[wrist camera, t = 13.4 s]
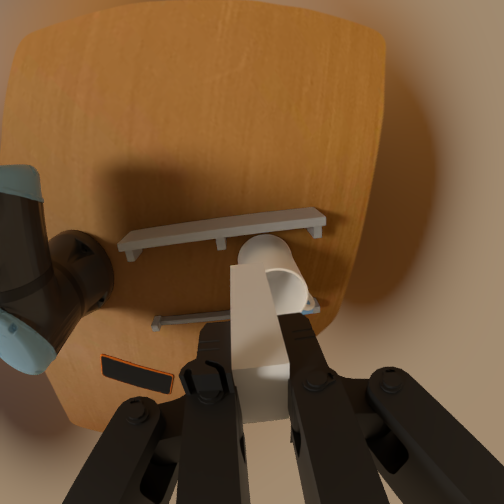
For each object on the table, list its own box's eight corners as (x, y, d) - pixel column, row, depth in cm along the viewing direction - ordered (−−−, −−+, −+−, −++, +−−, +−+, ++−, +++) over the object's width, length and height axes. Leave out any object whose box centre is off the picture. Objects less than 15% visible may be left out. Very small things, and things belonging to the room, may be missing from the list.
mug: (316, 264, 45) (341, 302, 34) (283, 301, 47) (297, 346, 36) (260, 222, 42) (270, 252, 30) (226, 265, 44) (225, 306, 33)
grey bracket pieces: (156, 321, 47) (149, 342, 41) (130, 230, 40) (116, 243, 35) (315, 303, 47) (324, 322, 42) (313, 207, 41) (325, 216, 36)
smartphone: (170, 393, 55) (170, 395, 54) (102, 373, 52) (101, 375, 51) (174, 372, 52) (173, 375, 52) (101, 351, 50) (99, 353, 49)
